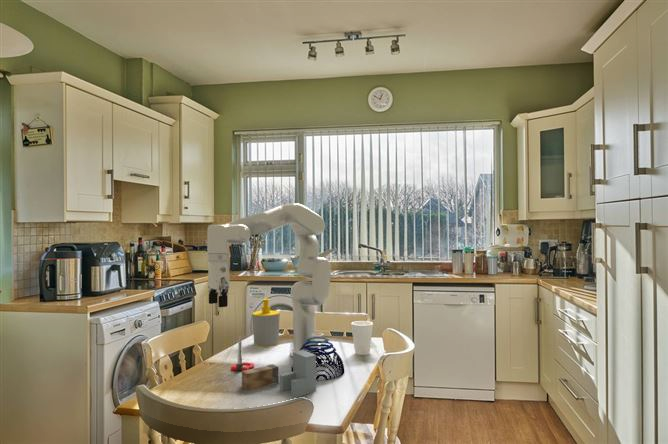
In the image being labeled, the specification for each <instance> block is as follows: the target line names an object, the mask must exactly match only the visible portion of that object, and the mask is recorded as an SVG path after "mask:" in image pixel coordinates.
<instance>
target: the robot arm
mask: <svg viewBox="0 0 668 444" xmlns="http://www.w3.org/2000/svg"><path fill="white" fill-rule="evenodd" d="M287 225H290V227H291V228H290V229H291V230H292V232H293V233H294V235H295V236H296V237H297V239H298V242H299V253H298V259H297V268H296V269H297V270H296V271H297V274H298V276H299V277H300V278H304V279H312V281H306V280H301V281H296V282H295V283H294V284H293V285H292V287H291V288H290V289H291V290H290V297H291V304H292V315H293V316H292V317H293V318H292V321H293V322H292V323H293V324H292V325H293V326H292V327H293V330H292V331H293V349H291V350H290V352H289V355H290V357H291V358H293V352H295V351H300V348H302V345H303V344H304V343H305V342H306V340H307V339H309V338H312V337H313V336H311V334H313V333H316V311H315V307H314V306H318V307H319V306H322V305H324V304H325V303H326V301H328V297H329V293H330V285H331V276H332V265H331V264H330V262H329V259H326V258H325V257H320V255H319V252H320V243H319V239H318V238H317V236H320V235H321V234H323V233H324V231H325V229H326V223H325V220H324V219H323V217H322V216H321V215H319V214H318V213H316V212H314V211H313V210H312V209H311V208H309V207H307V206H306V205H303V204H300V203H295V202H294V203H286V204H285V203H283V204H281V205H277V206H274V207H272V208H269V209H267V210H265V211H262V212H259V213H255V214H251V215H249V216H246V217H245V216H244V217H240V218H239V219H236V220H233V221H229V222H227V223H225V224H209V225H208V227H207V246H206V247H207V252H206V253H207V258H206V260H207V262H206V263H208V272H207V273H208V274H207V275H208V276H207V284H208V285H207V287H208V291H207V292H208V304H210V305H212V304H218V308H227V307H228V305H229V303H228V302H229V301H228V296H229V289H230V288H231V287H230V286H231V283H230V282H231V281H230V269H229V267H230V266H229V262H230V261H229V251H230V250H229V249H230V248H229V247H230V246H229V245H231V244H232V245H242V244H243V245H244V244H245V243H247V242H248V241H249V239H250V238H251V236H253V235H263V234H268V233H270V232H272V231H275V230H277V229H279V228H282V227H285V226H287ZM218 294H219V295H218ZM310 340H311V341H316V339H310ZM312 344H315V343H309V344H306V345H312ZM318 344H325V343H318ZM306 345H304V346H306ZM321 347H325V346H312V348H318V349H320V348H321ZM302 350H304V351H309V350H307V349H302ZM313 351H315V350H313ZM309 352H311V351H309ZM315 353H318V352H315Z"/></svg>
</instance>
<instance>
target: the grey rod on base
mask: <svg viewBox="0 0 668 444" xmlns="http://www.w3.org/2000/svg"><path fill="white" fill-rule="evenodd" d="M242 346H243V345H242V336H239V337H238V345H237V347H238V348H237V353H238V355H237V363H233V365H232V366H231V367H230V371H239V372H242V371H245V370H249V369H254V368H255V363H252V362H243V357H242Z"/></svg>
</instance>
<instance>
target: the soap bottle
mask: <svg viewBox="0 0 668 444" xmlns="http://www.w3.org/2000/svg"><path fill="white" fill-rule="evenodd" d="M270 300H271V299H270V298H262V299H261V301H262V302H263V305H262V306H261V310H258V311H257V310H256V311H254V312H252V314H251V316H252V317H251V318H252V329H253V330H252V331H253V332H252V333H253V334H252V335H253V344H254V346H255V347H260V348H261V347H262V348H264V347H265V348H266V347H269V348H270V347H274V346H277V345H278V344H279V341H280V340H279V337H280V317H281V311H278V310H272V309H271V306H270V305H269V302H270Z"/></svg>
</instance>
